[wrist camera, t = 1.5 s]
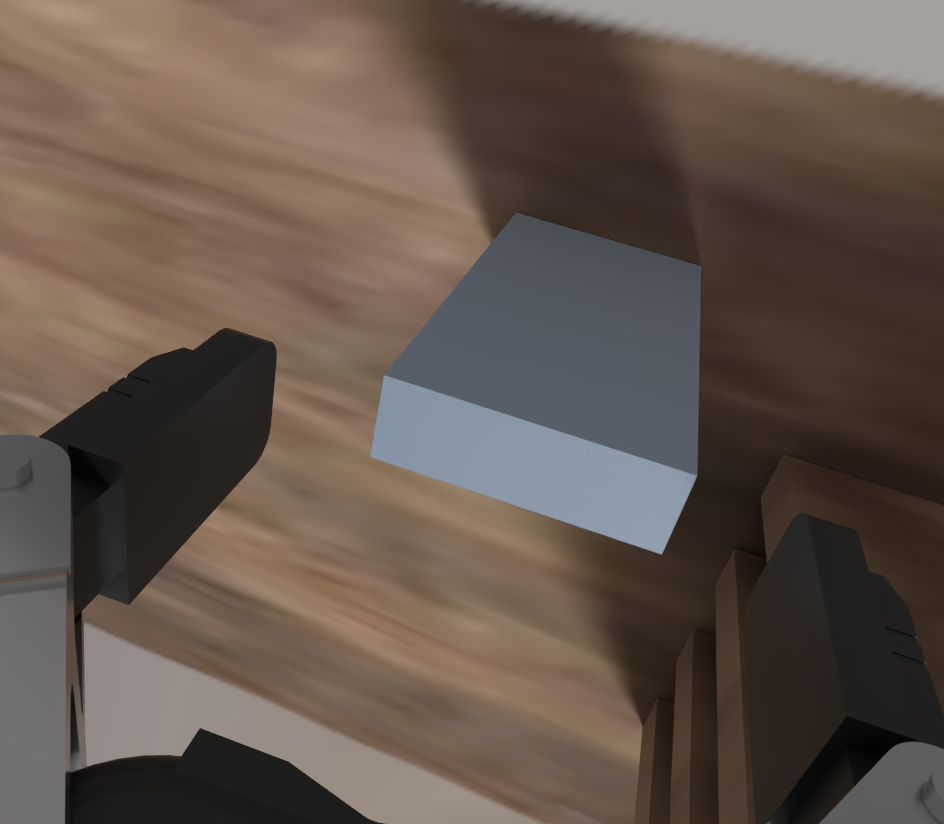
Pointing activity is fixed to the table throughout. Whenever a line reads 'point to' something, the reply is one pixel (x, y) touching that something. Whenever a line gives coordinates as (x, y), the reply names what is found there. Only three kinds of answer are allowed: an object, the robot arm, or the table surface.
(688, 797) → the tile
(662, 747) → the tile
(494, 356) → the blue tile
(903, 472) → the table surface
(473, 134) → the table surface
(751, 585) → the tile
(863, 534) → the tile
